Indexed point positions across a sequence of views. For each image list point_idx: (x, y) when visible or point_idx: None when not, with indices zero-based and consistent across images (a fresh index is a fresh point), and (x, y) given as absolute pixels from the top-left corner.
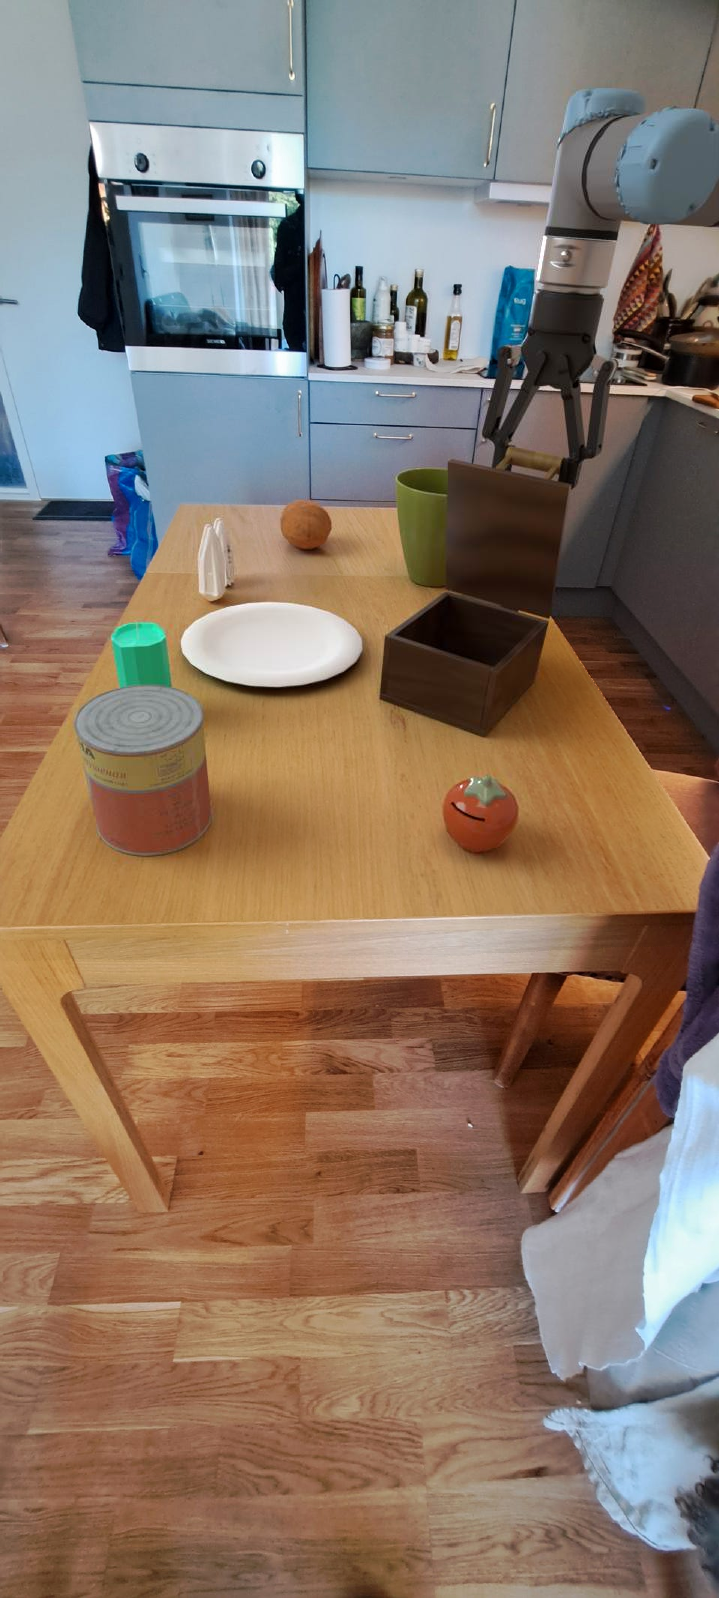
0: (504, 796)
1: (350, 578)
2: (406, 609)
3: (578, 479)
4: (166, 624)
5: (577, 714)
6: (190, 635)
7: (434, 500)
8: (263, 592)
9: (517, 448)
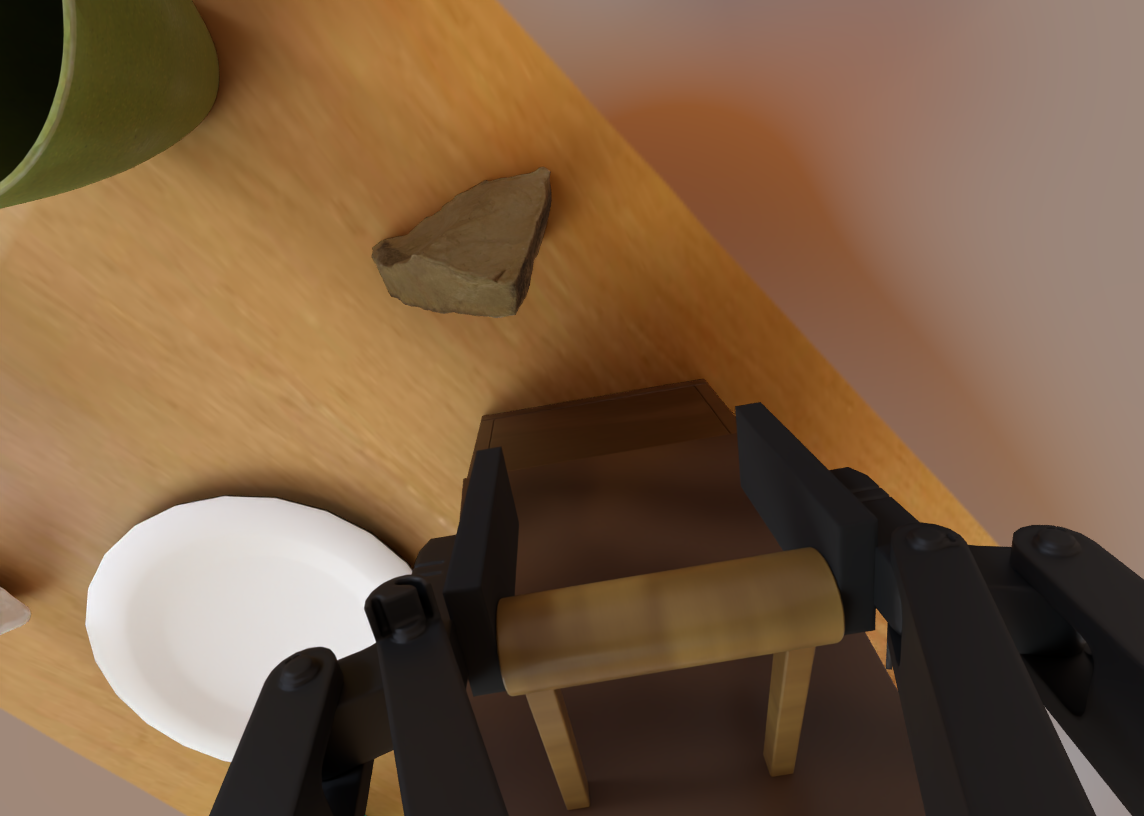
0: None
1: (25, 260)
2: (282, 303)
3: (876, 484)
4: (76, 698)
5: (818, 423)
6: (173, 730)
7: (14, 197)
8: (12, 489)
9: (559, 679)
